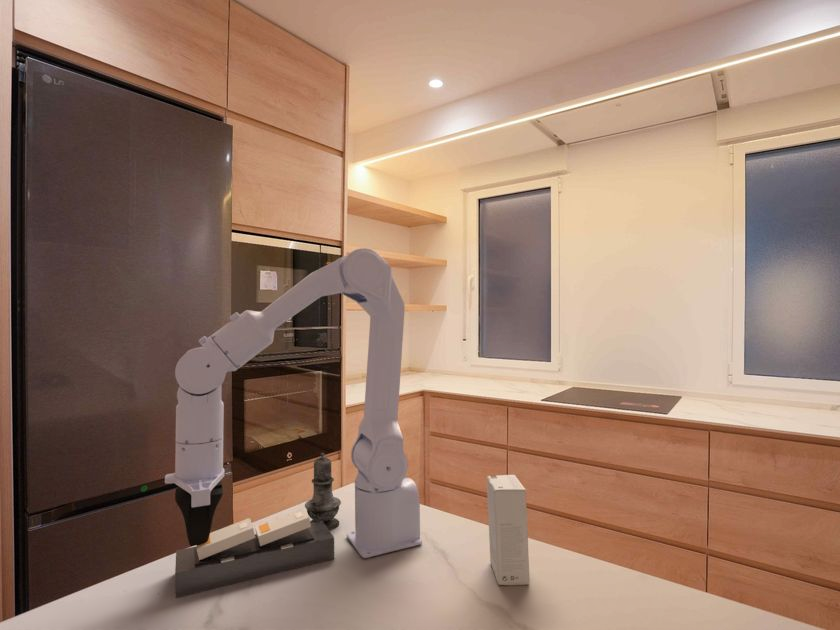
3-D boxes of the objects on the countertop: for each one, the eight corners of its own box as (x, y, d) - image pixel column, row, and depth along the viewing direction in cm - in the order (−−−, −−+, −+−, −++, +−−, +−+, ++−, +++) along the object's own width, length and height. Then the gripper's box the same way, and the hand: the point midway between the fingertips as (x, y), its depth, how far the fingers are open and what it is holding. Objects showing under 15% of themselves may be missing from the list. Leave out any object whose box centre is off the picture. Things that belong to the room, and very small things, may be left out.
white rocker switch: (252, 527, 67) (249, 517, 66) (255, 537, 63) (252, 527, 63) (198, 548, 63) (196, 537, 63) (199, 560, 60) (196, 549, 60)
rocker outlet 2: (305, 517, 70) (303, 507, 70) (311, 526, 67) (309, 516, 67) (256, 535, 67) (254, 525, 67) (260, 546, 64) (258, 536, 63)
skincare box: (531, 585, 60) (529, 489, 60) (495, 586, 59) (494, 490, 59) (519, 560, 66) (518, 473, 66) (487, 561, 66) (486, 474, 66)
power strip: (322, 539, 72) (322, 519, 72) (334, 558, 67) (334, 536, 67) (176, 572, 64) (176, 549, 64) (175, 597, 58) (175, 571, 58)
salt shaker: (333, 534, 74) (332, 458, 74) (298, 531, 76) (297, 456, 76) (346, 518, 80) (345, 448, 80) (314, 516, 81) (313, 446, 81)
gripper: (167, 430, 67) (166, 526, 67) (163, 456, 54) (161, 576, 54) (221, 425, 70) (220, 517, 70) (229, 449, 57) (227, 562, 57)
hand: (198, 542), depth 62 cm, fingers closed, pressing on white rocker switch
